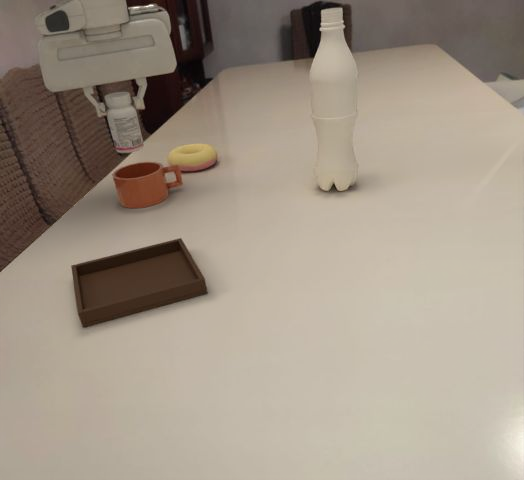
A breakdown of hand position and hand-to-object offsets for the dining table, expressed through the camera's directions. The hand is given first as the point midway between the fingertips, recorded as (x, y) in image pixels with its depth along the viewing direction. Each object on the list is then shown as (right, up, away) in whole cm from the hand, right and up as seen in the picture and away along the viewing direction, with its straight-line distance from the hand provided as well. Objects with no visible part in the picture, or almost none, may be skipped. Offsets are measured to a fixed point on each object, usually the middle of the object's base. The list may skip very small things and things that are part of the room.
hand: (121, 112), depth 85 cm
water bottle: (+35, -11, +3) cm, 37 cm away
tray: (+7, -30, -17) cm, 35 cm away
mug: (+3, -11, +9) cm, 14 cm away
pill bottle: (+1, -5, +4) cm, 6 cm away
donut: (+9, -2, +20) cm, 22 cm away
